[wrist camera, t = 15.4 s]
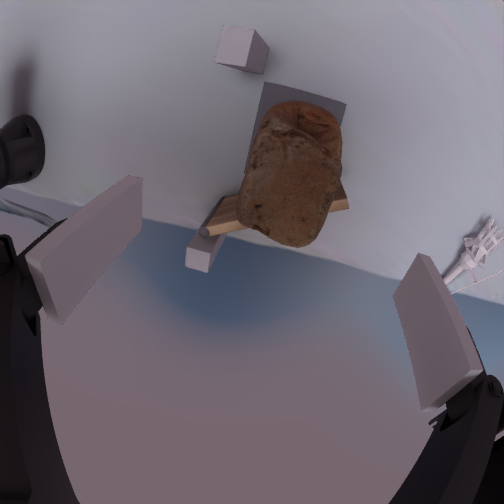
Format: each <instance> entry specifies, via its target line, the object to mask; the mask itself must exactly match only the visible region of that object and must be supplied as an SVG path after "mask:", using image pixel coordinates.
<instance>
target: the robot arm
mask: <svg viewBox="0 0 504 504" xmlns="http://www.w3.org/2000/svg"><path fill="white" fill-rule="evenodd" d="M44 156H45V148H44V140H43V136H42V132H41V130H40V127H39V125H38V124H37V122H36V121H35V120H34V118H32V117H31V116H29V115H21V116H18V117H15V118H13V119H12V120H11V121H9V122H8V123H7V124H6V125H5V126H3V127H2V128H1V129H0V189H2V188H3V187H5V186H7V185H11V184H18V183H25V182H28V181H30V180H32V179H34V178H36V177H37V176H38V175H39V173H40V172H41V170H42V167H43V163H44ZM142 179H143V178H140V177H134V176H129V175H128V176H127V177H125V178H124V179H122V180H121V181H119V182H118V183H116V184H115V185H113V186H112V187H110V188H109V189H107V190H106V191H105V192H103V193H102V194H100V195H99V196H97V197H96V198H95V199H93V200H92V201H90V202H89V203H88V204H86V205H85V206H84V207H82V208H81V209H80V210H79V211H77V212H76V213H74V214H73V215H72V216H71V217H69V218H66V219H64V220H62V221H59V222H57V223H55V224H54V225H53V226H52V227H50V228H49V229H48V230H47V232H44V233H43V234H42V235H41V236H40V237H38V238H37V239H36V240H35V241H34V242H33V243H32V244H30V245H29V246H28V247H27V248H26V249H25V250H24V251H22V253H20V254H19V255H18V256H17V255H16V251H15V248H14V245H13V241H12V238H11V237H10V236H9V235H6V234H3V235H0V504H80V503H79V502H78V500H77V498H76V496H75V493H74V491H73V488H72V486H71V483H70V480H69V478H68V475H67V472H66V469H65V466H64V463H63V460H62V457H61V453H60V450H59V446H58V443H57V439H56V435H55V431H54V427H53V422H52V418H51V414H50V408H49V403H48V397H47V391H46V385H45V377H44V369H43V359H42V347H41V330H40V329H41V327H40V316H39V313H38V311H39V310H40V309H41V307H42V306H43V308H44V310H45V312H46V315H47V317H48V318H50V319H52V320H54V321H56V322H57V323H59V324H61V325H63V324H64V322H65V321H66V319H67V318H68V317H69V315H70V314H71V313H72V311H73V310H74V309H75V308H76V306H77V305H78V304H79V302H80V301H81V300H82V298H83V297H84V296H85V295H86V293H87V292H88V291H89V290H90V288H91V287H92V286H93V285H94V283H95V282H96V281H97V280H98V279H99V277H100V276H101V275H102V274H103V273H104V271H105V270H106V269H107V268H108V267H109V266H110V264H111V263H112V262H113V261H114V260H115V258H117V256H118V255H119V254H120V253H121V252H122V251H123V250H124V248H125V247H126V246H127V245H128V244H129V243H130V242H131V241H132V240H133V239H134V237H135V236H136V235H137V234H138V233H139V232H140V231H141V230H142ZM393 298H394V302H395V305H396V308H397V311H398V314H399V318H400V321H401V324H402V328H403V331H404V335H405V339H406V343H407V347H408V350H409V354H410V359H411V363H412V367H413V371H414V376H415V381H416V385H417V390H418V395H419V401H420V406H421V411H435V410H437V409H438V408H439V407H441V406H442V405H443V404H445V403H446V407H447V409H446V410H445V411H443V412H442V413H441V414H439V415H438V416H437V417H435V418H434V419H432V420H431V421H430V422H429V425H431V424H432V423H433V422H435V421H438V422H437V424H436V425H434V426H433V428H434V430H433V432H432V434H431V436H430V438H429V440H428V442H427V444H426V446H425V447H424V449H423V451H422V453H421V455H420V456H419V458H418V460H417V462H416V463H415V465H414V467H413V468H412V470H411V471H410V473H409V475H408V476H407V478H406V479H405V481H404V482H403V484H402V485H401V487H400V489H399V490H398V491H397V493H396V494H395V496H394V497H393V498H392V500H391V501H390V503H389V504H504V436H503V437H501V438H500V439H498V440H497V441H495V442H494V440H495V436H496V435H497V434H498V433H500V432H501V431H503V430H504V392H503V388H502V385H501V383H500V382H499V381H498V379H497V378H496V377H494V376H493V375H486V372H485V369H484V366H483V364H482V361H481V358H480V355H479V353H478V350H477V349H476V345H475V343H474V341H473V338H472V336H471V333H470V331H469V329H468V328H467V326H466V325H465V323H464V321H463V319H462V316H461V314H460V312H459V310H458V308H457V306H456V304H455V302H454V300H453V298H452V296H451V294H450V292H449V290H448V288H447V286H446V284H445V282H444V281H443V279H442V277H441V275H440V273H439V272H438V270H437V268H436V266H435V265H434V263H433V261H432V259H431V258H430V257H429V256H427V255H424V254H421V253H418V254H417V256H416V258H415V259H414V261H413V263H412V265H411V266H410V268H409V270H408V271H407V273H406V275H405V276H404V278H403V280H402V281H401V283H400V285H399V286H398V288H397V289H396V291H395V292H394V294H393Z"/></svg>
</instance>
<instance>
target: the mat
mask: <svg viewBox="0 0 504 504" xmlns="http://www.w3.org/2000/svg"><path fill="white" fill-rule="evenodd" d="M291 100H296V101H302V102H307V103H310V104H313V105H317V106H319V107H321V108H324V109H325V110H327V111H329V112H330V113H331V114H332V115H334V116H335V118H336V119H337V121H338V123H339V126H340V125H341V122H342V118H343V115H344V112H345V108H346V105H347V104H344V103H341V102H338V101H335V100H332V99H329V98H326V97H323V96H319V95H316V94H312V93H309V92H305V91H301V90H298V89H294V88H290V87H286V86H282V85H277V84H273V83H268V82H264V87H263V91H262V95H261V99H260V104H259V108H258V112H257V117H256V121H255V126H254V130H253V135H252V139H251V144H250V148H249V153H248V157H247V162H246V167H245V171H244V173H245V174H246V170H247V167H248V163H249V157H250V152H251V148H252V145H253V142H254V139H255V137H256V135H257V132H258V130H259V126H260V124H261V121H262V119H263V117H264V115H265V114H266V112H267V111H268V110H269V109H270V108H271V107H272V106H273V105H275V104H278V103H283V102H286V101H291Z"/></svg>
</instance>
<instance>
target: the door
mask: <svg viewBox="0 0 504 504" xmlns="http://www.w3.org/2000/svg"><path fill="white" fill-rule="evenodd" d="M238 196H239V194H238V195H234V196H230V197H222V198H221V199H220V200H219V202H218V203H217V205H216V206H215V207H214V209H213V210H212V212H211V213H210V215H209V216H208V218H207V219H206V220H205V222H204V223H203V225H202V226H201V228H200V229H199V235H200V236H201V237H202V238H207V237H209V236H212V235H217V234H222V233H227V232H231V231H236V230H241V229H246V228H248V227H245V226H243V225H241V224H240V223H239V222H238V220H237V215H236V209H237V200H238ZM345 209H349V206H348V200H347V197H346V194H345V191H344V189H343V186H342V183H341V181H340V180H339V184H338V188H337V191H336V194H335V197H334V199H333V202H332V204H331V207H330V209H329V211H328V212H334V211H339V210H345Z"/></svg>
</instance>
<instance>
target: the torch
mask: <svg viewBox="0 0 504 504" xmlns="http://www.w3.org/2000/svg"><path fill="white" fill-rule="evenodd" d="M491 218H492V217H491ZM494 220H495V218H494ZM494 220H493V221H492V222H491V219H490V221H489V222H488V223H487V225H486V226H485V227H484V228H483V229H482V231H483V230H484V229H485V230H484V232H483V233H482V231H481V232H480V233H479V235H480V234H481V233H482V234H481V235H480V236H479V235H478V236H477V237H476V238H475V239H474V238H464V240H465V243H464V244H465V247H467V248H466V250H465V251H464V252H463V253H461V259H460V264H459V265H458V266H457V267H456V268H455V269H453V270H452V271H451V272H450V273H449V274H448V275H447V276H446V277H445V278H443V281H444V282H445V284H446V285H447V284H448V283H449V282H450V281H451V280H453V279H454V278H455V277H456V276H457V275H458V274H459V273H460V272H462V271H463V270H464V269H469V270H471V271H472V274H473V278H474V282H475V283H474V284H477V283H479V282H481V281H483V280H485V279H488V278H490V277H492V276H494V275H496V274H498V273H500V272H502V271H504V270H502V271H500V272H498V273H496V274H494V275H492V276H489V277H487V278H485V279H483V280H481V281H478V282H477V281H476V278H475V274H474V270H473V268H474V267H475V266H476V265H478V264H477V263H478V262H481V263H484V264H485V266H484V268H482V267H481V266H480V265H478V266H480V267H481V268H482V269H483V270H486V264H487V256H488V255H489V254H490V253H491V252H492V251H493V250H494V249H495V248H497V247H498V246H499V245H500V244H501V243H502V241H503V240H504V237H501V238H500V239H498V237H497V236H498V235H499V234H500V232H501V231H502V229H503V228H502V229H500V230H498V231H497V232H496V233H495V231H496V228H497V226H498V225H497V226H495V227H494V228H493V229H491V226H492V225H493V223H494ZM490 222H491V223H490ZM489 223H490V225H488V224H489ZM486 232H487V236H486V237H485V238H484V239H482V237H483V235H484V234H485V233H486ZM489 237H490V238H491V239H490V240H489V241H488V242H487V243H485V241H486V240H487V239H488V238H489ZM466 239H474V240H472V241H469V242H466ZM492 241H493V242H494V245H493V246H492V247H491V248H490V249H489V248H488V245H489V244H490V243H491V242H492ZM468 246H473V247H472V251H470V250H469V249H468ZM476 248H479V250H478V252H477V254H476V257H475V256H474V255H473V253H474V251H475V249H476ZM482 257H483V260H480V259H481V258H482ZM474 284H472V285H474ZM472 285H469V286H467V287H470V286H472ZM467 287H465V288H467ZM465 288H462V289H460V290H463V289H465ZM460 290H457V291H455V292H453V293H456V292H458V291H460ZM453 293H450V294H453Z"/></svg>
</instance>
